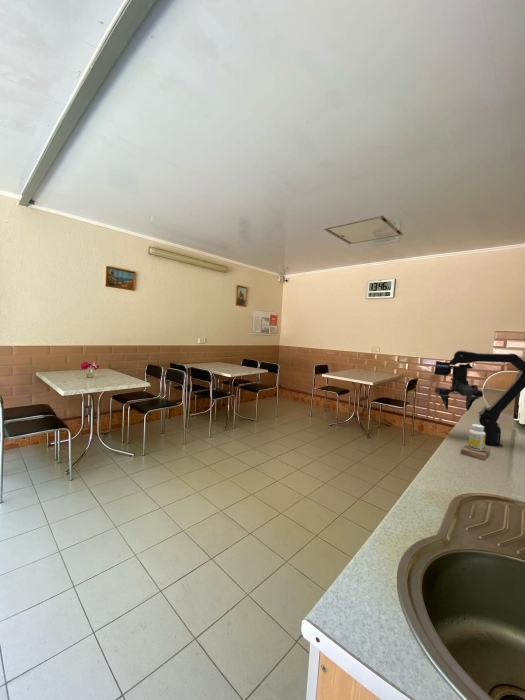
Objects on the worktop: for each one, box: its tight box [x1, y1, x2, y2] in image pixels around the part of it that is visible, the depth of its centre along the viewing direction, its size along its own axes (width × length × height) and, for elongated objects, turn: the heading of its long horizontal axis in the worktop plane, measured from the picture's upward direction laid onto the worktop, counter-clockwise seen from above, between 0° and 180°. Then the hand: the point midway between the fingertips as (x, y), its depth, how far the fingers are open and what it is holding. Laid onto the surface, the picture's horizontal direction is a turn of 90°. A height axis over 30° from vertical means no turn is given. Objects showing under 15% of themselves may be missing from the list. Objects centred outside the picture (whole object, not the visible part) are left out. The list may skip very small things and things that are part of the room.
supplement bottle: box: [468, 423, 486, 451], centre depth 122 cm, size 5×5×10 cm
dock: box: [460, 442, 491, 461], centre depth 122 cm, size 10×8×2 cm
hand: (456, 409), depth 141 cm, fingers open, 9 cm apart
